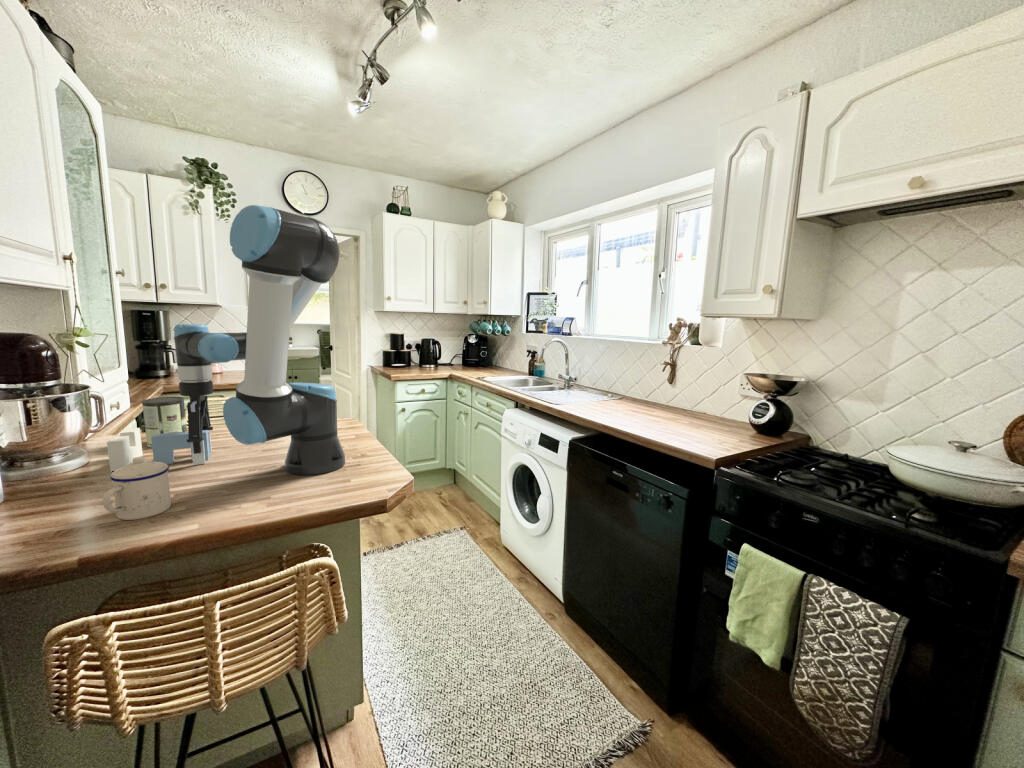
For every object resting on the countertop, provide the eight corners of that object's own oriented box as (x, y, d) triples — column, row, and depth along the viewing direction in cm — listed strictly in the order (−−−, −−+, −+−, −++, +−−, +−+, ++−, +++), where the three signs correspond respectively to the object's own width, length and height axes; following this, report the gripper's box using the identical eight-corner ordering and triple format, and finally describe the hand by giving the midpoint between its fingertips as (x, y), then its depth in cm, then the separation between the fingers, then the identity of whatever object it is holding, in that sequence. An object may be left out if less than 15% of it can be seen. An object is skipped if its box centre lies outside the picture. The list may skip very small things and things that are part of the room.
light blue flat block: (208, 459, 119) (206, 432, 118) (154, 465, 114) (151, 437, 112) (210, 456, 122) (207, 430, 121) (157, 462, 116) (154, 434, 115)
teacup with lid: (145, 500, 93) (140, 449, 91) (183, 503, 92) (178, 451, 90) (86, 526, 81) (78, 468, 79) (129, 530, 80) (122, 471, 78)
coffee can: (167, 437, 139) (163, 395, 137) (196, 439, 138) (192, 397, 136) (137, 446, 129) (132, 401, 127) (168, 448, 128) (163, 403, 126)
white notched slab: (125, 470, 110) (122, 440, 109) (110, 471, 109) (106, 441, 107) (142, 454, 122) (139, 427, 121) (129, 455, 121) (126, 428, 120)
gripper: (187, 375, 124) (194, 448, 128) (168, 387, 105) (176, 473, 108) (218, 374, 128) (224, 446, 131) (205, 385, 108) (212, 469, 112)
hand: (202, 458), depth 120 cm, fingers open, 9 cm apart
